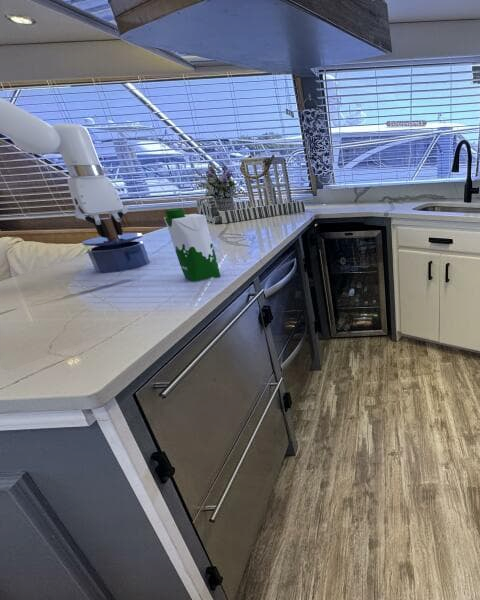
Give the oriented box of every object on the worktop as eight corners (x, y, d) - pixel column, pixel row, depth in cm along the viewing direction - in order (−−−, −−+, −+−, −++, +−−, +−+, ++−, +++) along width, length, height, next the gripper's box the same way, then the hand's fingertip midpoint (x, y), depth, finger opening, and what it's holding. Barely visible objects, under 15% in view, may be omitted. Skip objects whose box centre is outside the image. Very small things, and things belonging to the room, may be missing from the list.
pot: (117, 281, 95) (105, 253, 91) (85, 274, 103) (74, 248, 99) (165, 268, 106) (156, 243, 102) (133, 263, 114) (124, 239, 110)
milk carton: (181, 279, 94) (158, 209, 86) (213, 271, 101) (194, 205, 93) (192, 285, 89) (169, 211, 81) (225, 276, 96) (207, 207, 88)
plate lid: (98, 249, 91) (87, 223, 88) (74, 245, 97) (63, 221, 95) (152, 238, 103) (144, 215, 100) (128, 235, 109) (120, 214, 106)
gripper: (113, 171, 101) (134, 230, 108) (42, 174, 87) (73, 241, 95) (126, 171, 97) (147, 231, 105) (55, 173, 84) (85, 242, 91)
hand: (112, 235), depth 100 cm, fingers closed on plate lid, 3 cm apart
